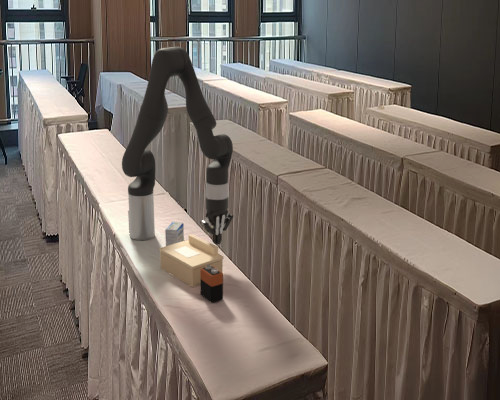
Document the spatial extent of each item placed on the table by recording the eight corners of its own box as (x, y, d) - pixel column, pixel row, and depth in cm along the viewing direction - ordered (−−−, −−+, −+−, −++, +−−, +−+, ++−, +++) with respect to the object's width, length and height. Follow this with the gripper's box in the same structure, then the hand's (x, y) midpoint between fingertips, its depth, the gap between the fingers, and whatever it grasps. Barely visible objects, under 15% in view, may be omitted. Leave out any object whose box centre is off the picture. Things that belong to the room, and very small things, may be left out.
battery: (211, 303, 189) (211, 273, 185) (199, 294, 194) (199, 265, 191) (223, 300, 191) (223, 270, 188) (212, 291, 196) (212, 262, 193)
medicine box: (177, 253, 223) (177, 230, 221) (165, 251, 224) (165, 229, 221) (184, 244, 231) (183, 222, 228) (172, 243, 232) (172, 221, 229)
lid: (159, 251, 209) (159, 240, 208) (189, 241, 217) (189, 231, 216) (192, 269, 196) (192, 258, 195) (223, 259, 204) (223, 248, 203)
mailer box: (160, 268, 211) (160, 251, 209) (189, 258, 219) (189, 243, 217) (192, 287, 199) (192, 270, 197) (222, 276, 206) (222, 260, 204)
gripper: (225, 188, 214) (224, 235, 220) (194, 196, 206) (194, 245, 212) (239, 194, 209) (239, 242, 215) (208, 202, 201) (208, 252, 206)
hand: (216, 243), depth 213 cm, fingers closed
